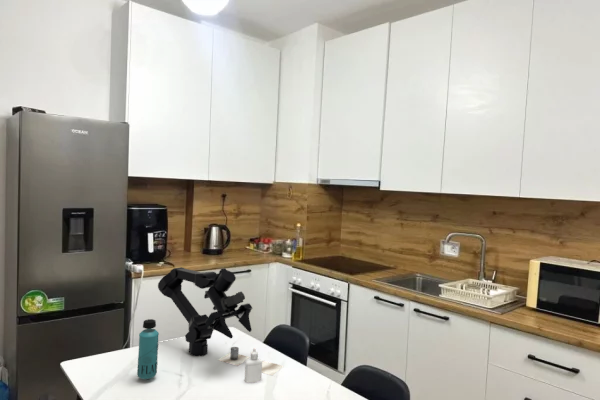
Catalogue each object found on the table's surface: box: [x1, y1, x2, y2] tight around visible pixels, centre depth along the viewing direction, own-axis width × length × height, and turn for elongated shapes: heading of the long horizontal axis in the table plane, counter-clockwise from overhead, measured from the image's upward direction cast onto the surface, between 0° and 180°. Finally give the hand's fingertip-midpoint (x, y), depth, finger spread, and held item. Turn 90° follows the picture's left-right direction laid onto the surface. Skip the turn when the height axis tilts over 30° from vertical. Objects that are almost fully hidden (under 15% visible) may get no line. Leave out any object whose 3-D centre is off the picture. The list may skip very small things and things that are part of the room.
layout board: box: [217, 351, 284, 376], centre depth 150 cm, size 24×12×1 cm, turn 65°
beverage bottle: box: [136, 318, 160, 380], centre depth 136 cm, size 6×7×20 cm
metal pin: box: [230, 346, 240, 360], centre depth 154 cm, size 3×3×4 cm
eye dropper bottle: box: [243, 348, 263, 384], centre depth 138 cm, size 4×6×12 cm
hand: (241, 334), depth 143 cm, fingers open, 9 cm apart
